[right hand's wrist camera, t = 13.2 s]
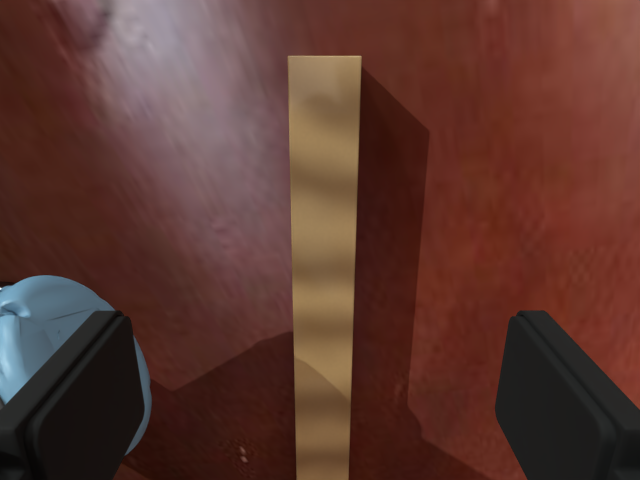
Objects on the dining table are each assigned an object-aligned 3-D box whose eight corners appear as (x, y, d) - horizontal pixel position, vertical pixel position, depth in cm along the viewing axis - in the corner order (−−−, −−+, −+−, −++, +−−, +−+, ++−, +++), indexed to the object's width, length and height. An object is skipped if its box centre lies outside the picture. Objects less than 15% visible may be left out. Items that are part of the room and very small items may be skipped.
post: (292, 58, 36) (287, 55, 30) (355, 58, 36) (361, 56, 30) (301, 560, 55) (299, 617, 50) (341, 560, 55) (344, 617, 50)
